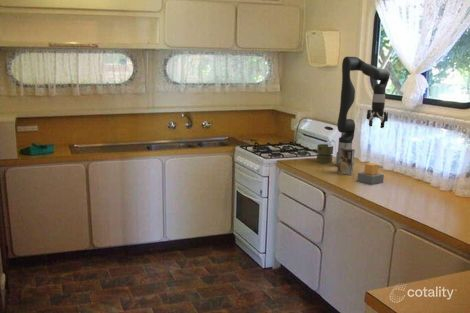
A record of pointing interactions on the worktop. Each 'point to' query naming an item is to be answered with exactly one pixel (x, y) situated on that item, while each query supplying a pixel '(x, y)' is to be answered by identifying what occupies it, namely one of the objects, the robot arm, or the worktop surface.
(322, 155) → the piston
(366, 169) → the orange matte cube
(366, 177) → the grey square block
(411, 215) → the worktop surface
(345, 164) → the coffee box
